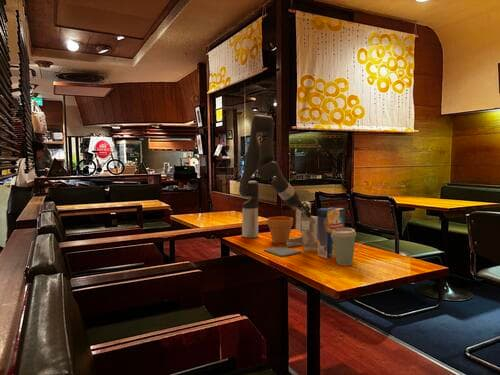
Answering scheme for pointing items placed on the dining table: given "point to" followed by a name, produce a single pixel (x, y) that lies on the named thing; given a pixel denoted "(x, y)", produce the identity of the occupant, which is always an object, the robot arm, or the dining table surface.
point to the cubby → (306, 237)
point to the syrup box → (302, 219)
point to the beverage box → (328, 229)
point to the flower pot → (280, 228)
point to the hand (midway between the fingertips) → (305, 215)
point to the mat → (282, 251)
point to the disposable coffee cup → (344, 245)
